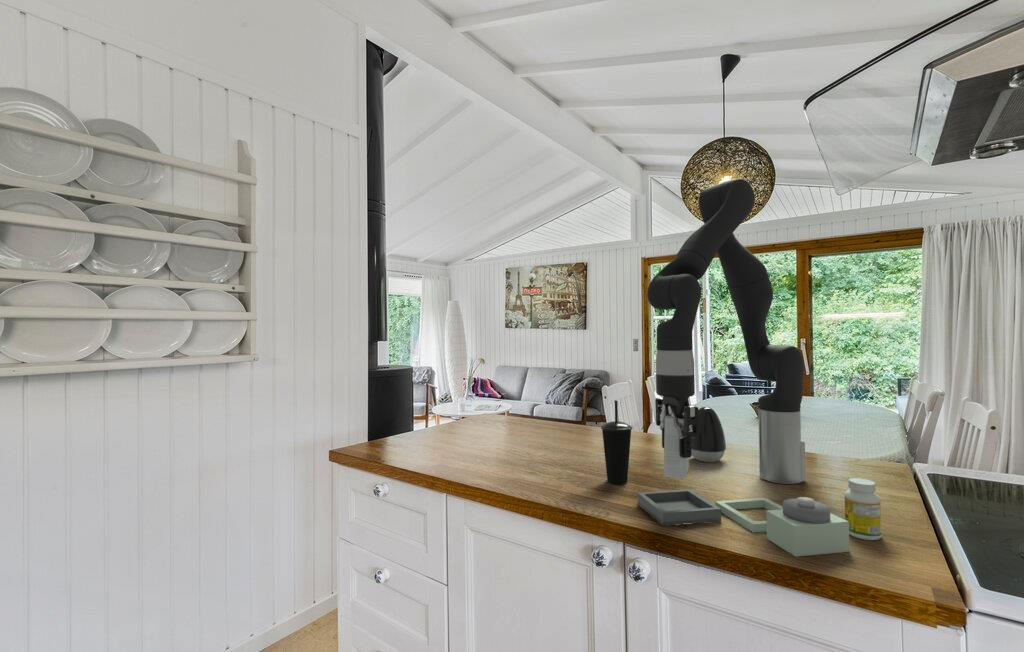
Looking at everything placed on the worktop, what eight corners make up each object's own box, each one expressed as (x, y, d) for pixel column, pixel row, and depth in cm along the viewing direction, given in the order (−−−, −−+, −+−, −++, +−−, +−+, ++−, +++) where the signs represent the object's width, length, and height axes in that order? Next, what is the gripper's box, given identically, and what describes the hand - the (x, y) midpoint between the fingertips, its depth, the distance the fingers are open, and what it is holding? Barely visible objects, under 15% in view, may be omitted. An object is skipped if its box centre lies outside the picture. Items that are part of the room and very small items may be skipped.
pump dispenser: (683, 455, 145) (682, 404, 145) (720, 455, 144) (719, 404, 144) (691, 464, 135) (690, 409, 135) (731, 465, 134) (730, 409, 134)
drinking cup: (627, 488, 116) (625, 403, 116) (597, 483, 120) (595, 401, 120) (637, 479, 122) (636, 399, 122) (608, 475, 126) (607, 398, 126)
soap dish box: (765, 504, 103) (764, 468, 104) (852, 551, 82) (851, 504, 82) (715, 508, 102) (714, 471, 102) (791, 556, 80) (790, 509, 80)
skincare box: (667, 469, 104) (666, 412, 104) (689, 471, 102) (688, 413, 102) (663, 477, 98) (662, 417, 98) (687, 480, 96) (685, 418, 96)
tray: (689, 500, 107) (689, 489, 107) (721, 521, 95) (721, 508, 95) (637, 504, 105) (637, 492, 105) (663, 526, 93) (663, 513, 93)
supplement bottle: (880, 543, 84) (879, 488, 84) (843, 535, 88) (842, 482, 88) (882, 533, 88) (881, 480, 88) (846, 526, 92) (845, 475, 92)
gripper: (711, 374, 94) (712, 460, 93) (675, 369, 108) (676, 444, 108) (674, 375, 93) (675, 462, 92) (643, 370, 107) (644, 445, 107)
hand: (676, 452), depth 100 cm, fingers closed on skincare box, 7 cm apart
